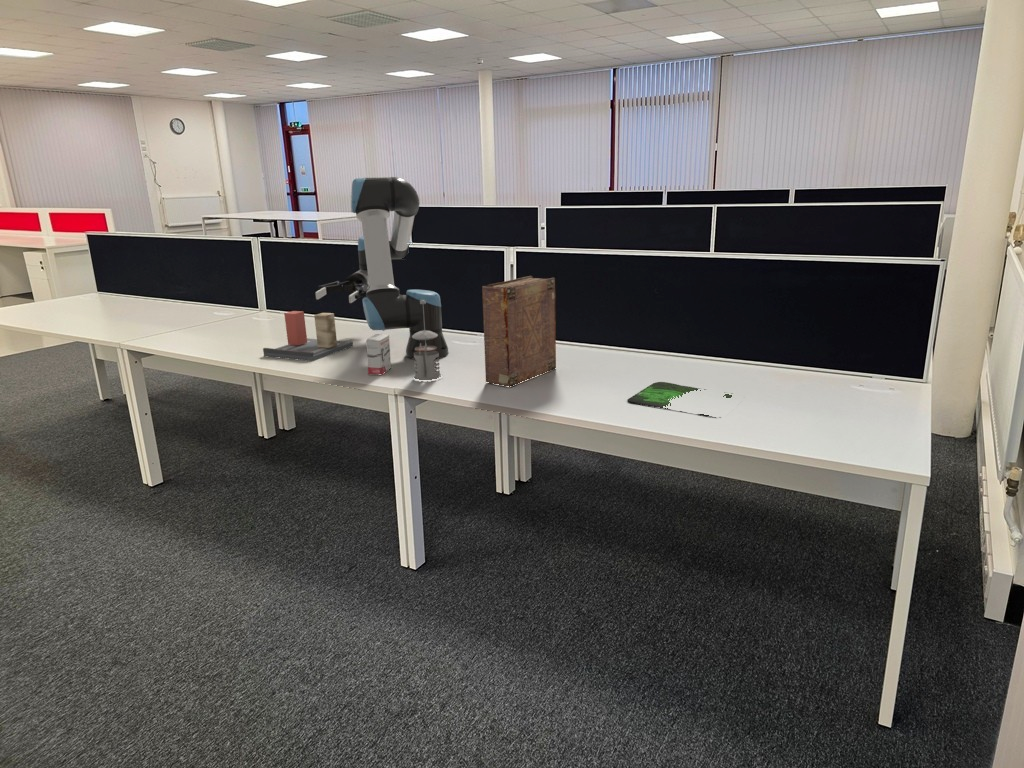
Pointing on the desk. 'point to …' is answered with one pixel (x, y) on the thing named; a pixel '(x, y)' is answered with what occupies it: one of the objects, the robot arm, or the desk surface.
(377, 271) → the robot arm
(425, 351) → the french press
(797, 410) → the desk surface
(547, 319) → the book
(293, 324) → the red slider
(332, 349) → the track board
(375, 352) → the ink box
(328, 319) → the birch slider
